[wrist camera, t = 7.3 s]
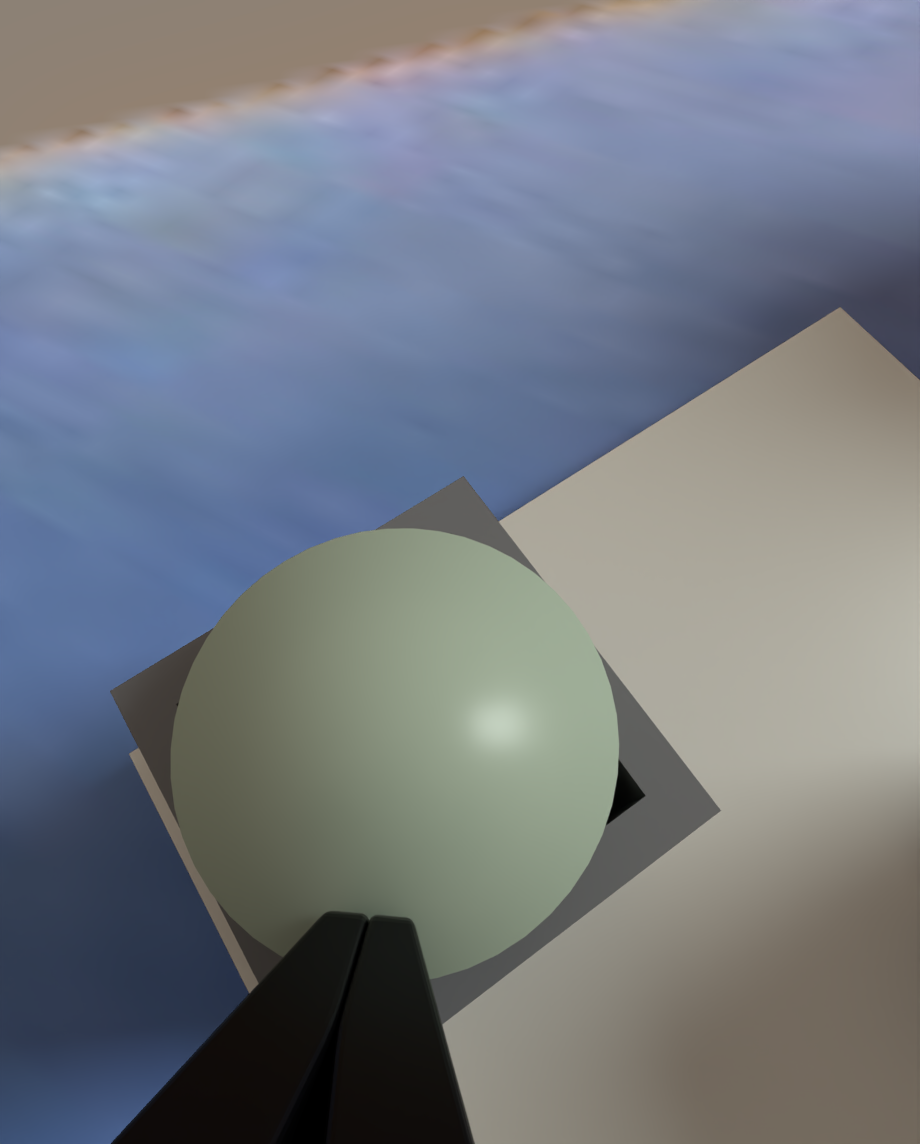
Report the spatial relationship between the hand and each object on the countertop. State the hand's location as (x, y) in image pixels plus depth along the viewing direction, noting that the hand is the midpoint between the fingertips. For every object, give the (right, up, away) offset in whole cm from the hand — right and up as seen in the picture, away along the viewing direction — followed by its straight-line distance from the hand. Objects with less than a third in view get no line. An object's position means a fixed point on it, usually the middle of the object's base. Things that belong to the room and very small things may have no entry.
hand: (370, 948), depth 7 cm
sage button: (0, -1, +7) cm, 7 cm away
